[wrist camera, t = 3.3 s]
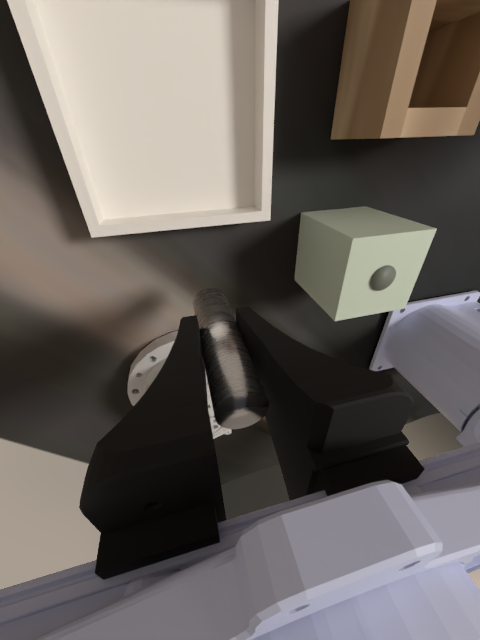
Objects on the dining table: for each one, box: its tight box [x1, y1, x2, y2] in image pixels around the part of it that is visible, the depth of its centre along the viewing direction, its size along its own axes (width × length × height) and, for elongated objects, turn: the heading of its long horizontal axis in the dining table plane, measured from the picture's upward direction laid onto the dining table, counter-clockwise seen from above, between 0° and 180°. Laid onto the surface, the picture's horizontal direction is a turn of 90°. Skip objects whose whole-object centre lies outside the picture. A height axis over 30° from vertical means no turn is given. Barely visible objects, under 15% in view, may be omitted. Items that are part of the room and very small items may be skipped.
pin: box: [193, 288, 269, 429], centre depth 11 cm, size 2×2×7 cm
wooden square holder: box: [331, 0, 480, 139], centre depth 12 cm, size 5×5×4 cm
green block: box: [294, 207, 437, 321], centre depth 16 cm, size 5×5×6 cm
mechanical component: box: [128, 331, 231, 439], centre depth 20 cm, size 10×4×10 cm
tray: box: [7, 0, 278, 238], centre depth 11 cm, size 9×9×2 cm
